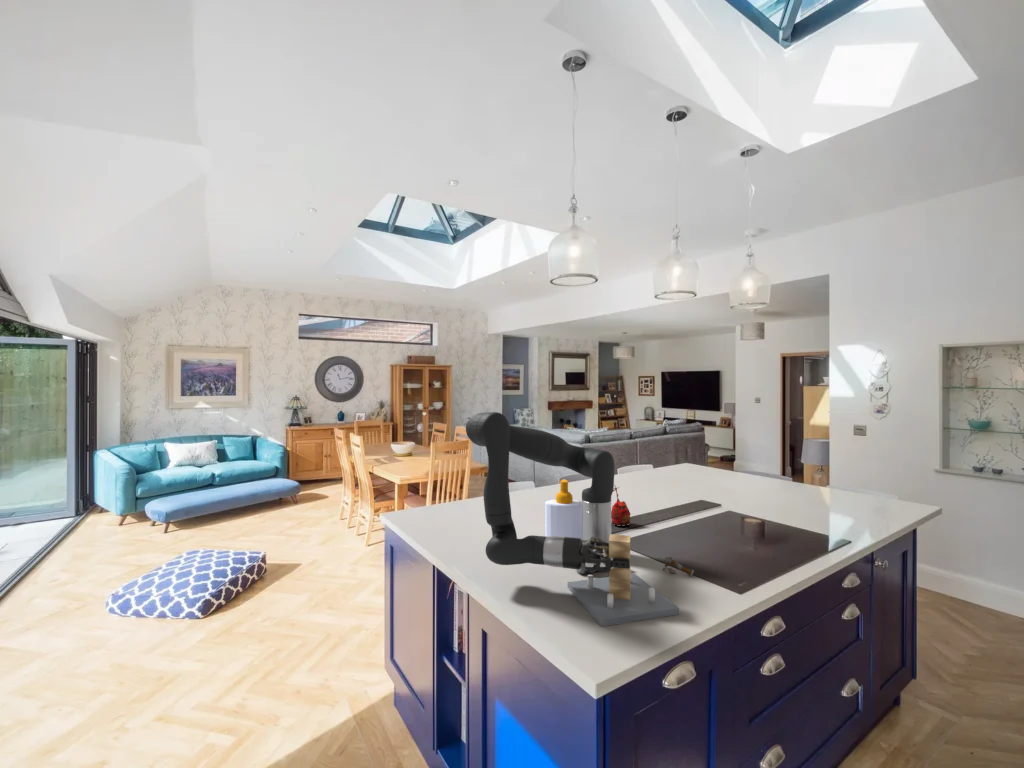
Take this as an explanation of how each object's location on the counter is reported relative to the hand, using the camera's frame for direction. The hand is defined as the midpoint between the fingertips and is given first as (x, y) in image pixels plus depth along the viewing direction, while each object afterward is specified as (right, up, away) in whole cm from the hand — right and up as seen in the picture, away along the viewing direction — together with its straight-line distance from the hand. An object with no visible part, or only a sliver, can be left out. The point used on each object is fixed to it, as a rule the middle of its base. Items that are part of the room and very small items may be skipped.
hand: (629, 558), depth 113 cm
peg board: (-2, -11, +1) cm, 11 cm away
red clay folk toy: (+12, -11, +62) cm, 64 cm away
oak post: (-2, -9, +1) cm, 9 cm away
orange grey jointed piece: (+18, -11, +16) cm, 27 cm away
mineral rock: (-4, -11, +19) cm, 22 cm away
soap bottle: (-11, -11, +45) cm, 47 cm away
